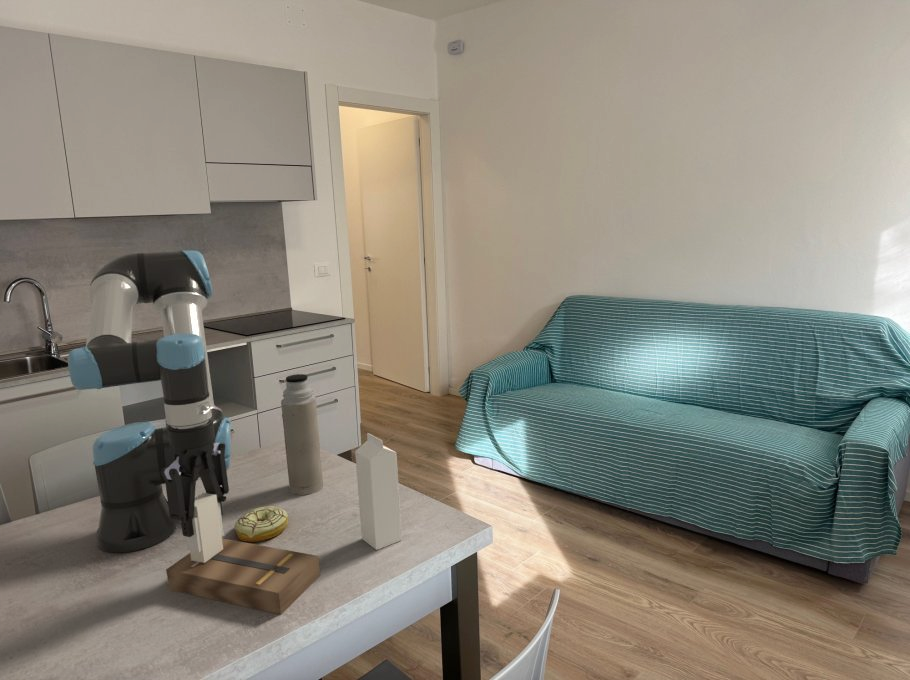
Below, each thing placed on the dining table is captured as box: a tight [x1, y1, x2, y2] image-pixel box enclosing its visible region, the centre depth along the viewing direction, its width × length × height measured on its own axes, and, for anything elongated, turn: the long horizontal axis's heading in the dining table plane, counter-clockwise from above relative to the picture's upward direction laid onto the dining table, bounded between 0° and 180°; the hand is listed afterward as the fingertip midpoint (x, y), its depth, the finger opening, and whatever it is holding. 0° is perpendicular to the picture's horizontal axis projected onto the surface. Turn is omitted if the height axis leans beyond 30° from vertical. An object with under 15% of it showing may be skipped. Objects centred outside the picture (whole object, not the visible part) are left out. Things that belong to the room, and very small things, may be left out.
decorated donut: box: [234, 505, 289, 543], centre depth 135 cm, size 10×11×4 cm
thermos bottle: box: [280, 373, 324, 496], centre depth 153 cm, size 8×8×28 cm
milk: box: [355, 432, 403, 551], centre depth 128 cm, size 6×6×22 cm
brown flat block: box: [165, 538, 321, 615], centre depth 116 cm, size 24×12×4 cm, turn 69°
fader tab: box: [185, 492, 223, 563], centre depth 118 cm, size 3×5×11 cm, turn 159°
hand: (205, 542), depth 118 cm, fingers closed on fader tab, 5 cm apart
